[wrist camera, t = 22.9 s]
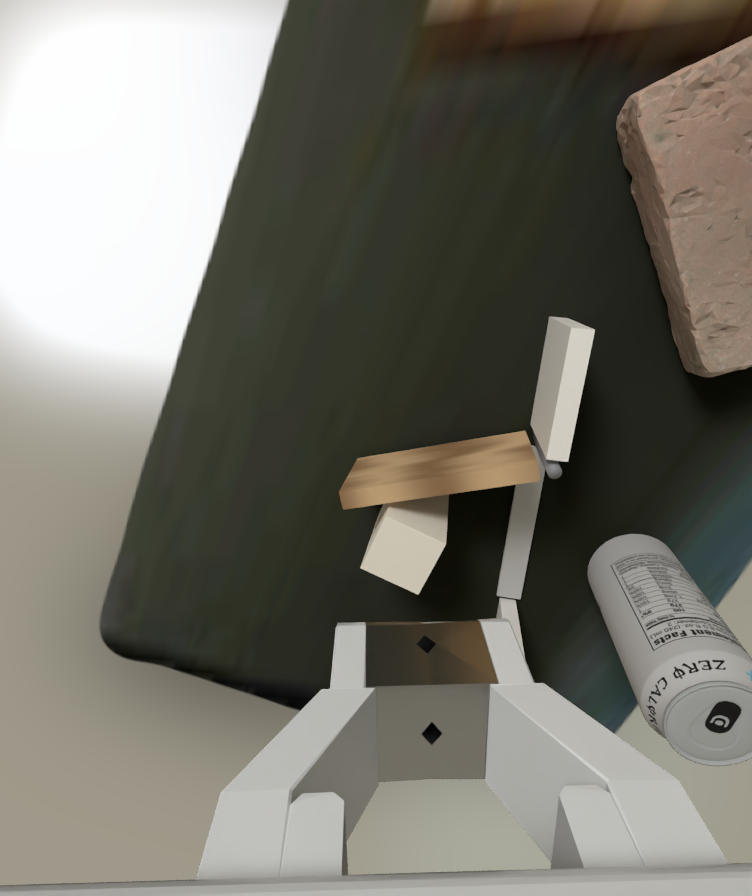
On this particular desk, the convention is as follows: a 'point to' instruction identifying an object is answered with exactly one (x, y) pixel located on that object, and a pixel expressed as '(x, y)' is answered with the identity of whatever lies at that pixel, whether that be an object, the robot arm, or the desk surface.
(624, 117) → the brick
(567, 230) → the desk surface
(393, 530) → the block
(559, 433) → the doorframe
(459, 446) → the door
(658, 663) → the energy drink can
